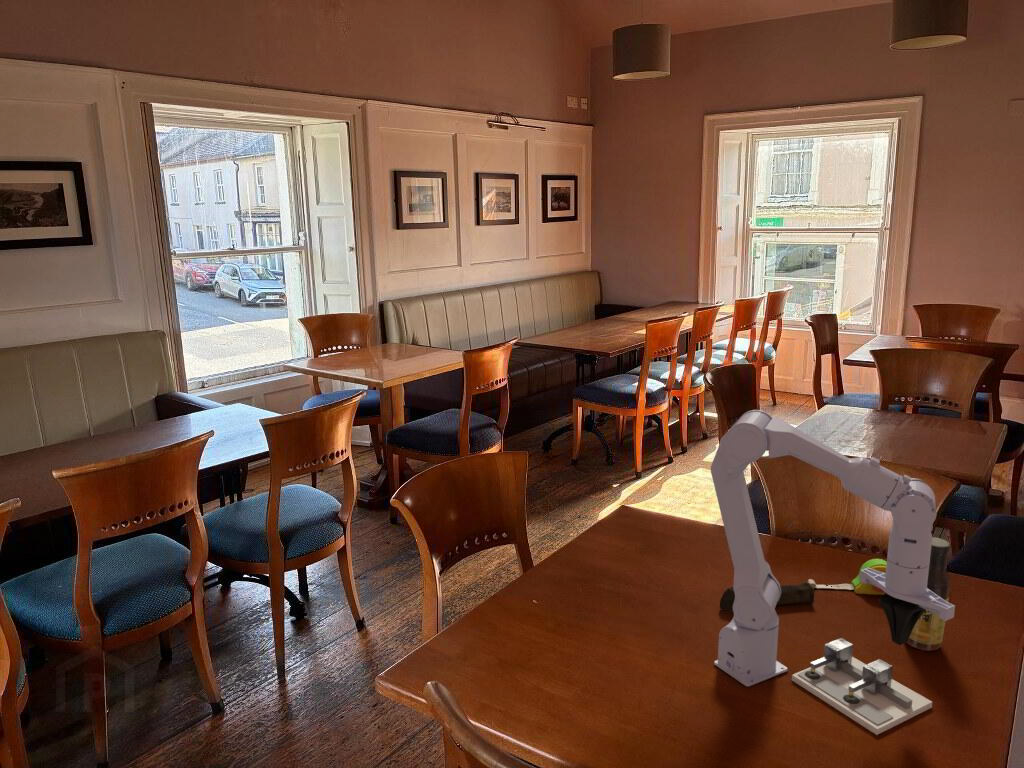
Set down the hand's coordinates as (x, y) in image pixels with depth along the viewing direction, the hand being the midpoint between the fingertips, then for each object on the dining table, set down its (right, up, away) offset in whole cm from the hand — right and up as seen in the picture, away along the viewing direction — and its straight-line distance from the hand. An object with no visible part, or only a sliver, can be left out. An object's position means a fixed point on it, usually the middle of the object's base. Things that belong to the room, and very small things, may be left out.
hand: (900, 641), depth 121 cm
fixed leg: (-7, -7, +9) cm, 14 cm away
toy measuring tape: (+10, -2, +38) cm, 40 cm away
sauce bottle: (+13, -7, +18) cm, 23 cm away
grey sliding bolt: (-4, -9, +3) cm, 10 cm away
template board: (-4, -10, +4) cm, 12 cm away
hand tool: (-10, -4, +32) cm, 34 cm away
